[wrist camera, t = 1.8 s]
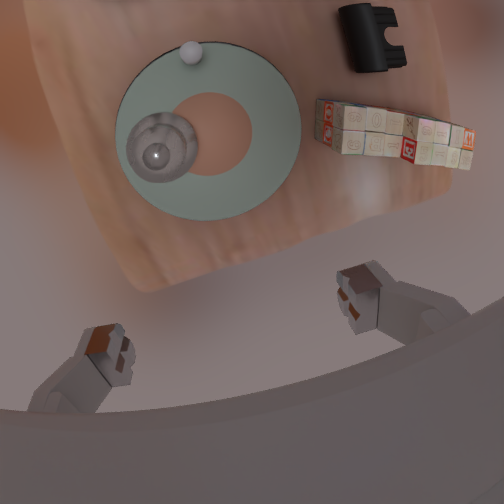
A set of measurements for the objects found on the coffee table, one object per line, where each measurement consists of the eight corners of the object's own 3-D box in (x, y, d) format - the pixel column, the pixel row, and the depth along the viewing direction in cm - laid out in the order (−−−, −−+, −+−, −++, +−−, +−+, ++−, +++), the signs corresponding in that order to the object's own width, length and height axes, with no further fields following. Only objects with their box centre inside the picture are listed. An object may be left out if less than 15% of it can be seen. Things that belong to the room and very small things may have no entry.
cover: (120, 124, 32) (106, 131, 27) (189, 103, 33) (187, 106, 28) (139, 187, 37) (130, 205, 32) (204, 170, 37) (205, 184, 32)
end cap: (328, 12, 31) (350, 2, 25) (369, 10, 31) (394, 3, 25) (346, 73, 36) (369, 73, 30) (384, 68, 36) (411, 69, 30)
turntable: (100, 74, 29) (82, 73, 24) (283, 33, 31) (299, 24, 25) (147, 233, 42) (141, 257, 37) (306, 196, 44) (322, 214, 38)
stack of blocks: (313, 139, 41) (352, 161, 31) (315, 98, 38) (356, 105, 27) (422, 148, 44) (471, 171, 34) (426, 115, 41) (477, 131, 31)
